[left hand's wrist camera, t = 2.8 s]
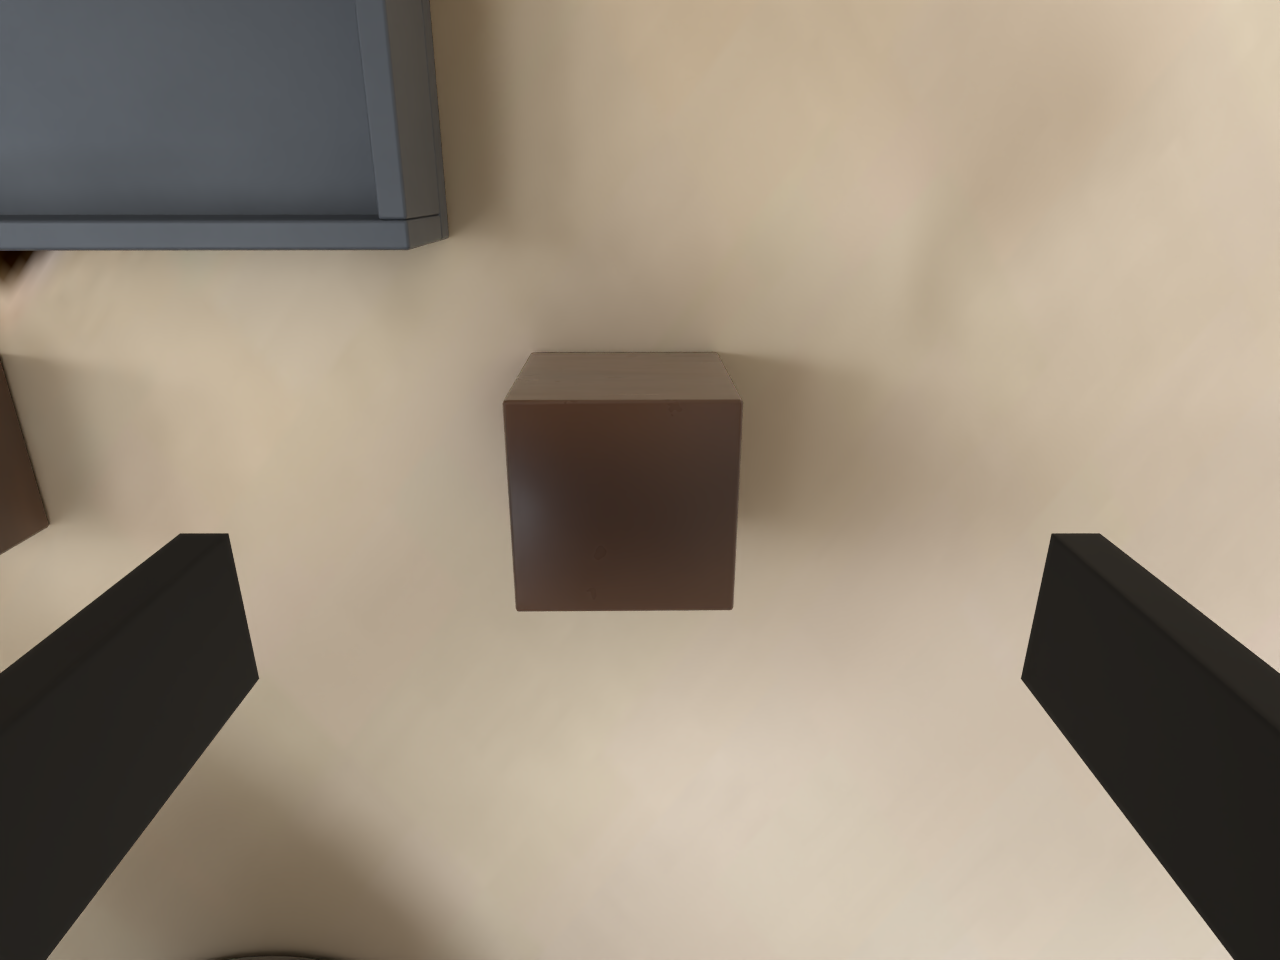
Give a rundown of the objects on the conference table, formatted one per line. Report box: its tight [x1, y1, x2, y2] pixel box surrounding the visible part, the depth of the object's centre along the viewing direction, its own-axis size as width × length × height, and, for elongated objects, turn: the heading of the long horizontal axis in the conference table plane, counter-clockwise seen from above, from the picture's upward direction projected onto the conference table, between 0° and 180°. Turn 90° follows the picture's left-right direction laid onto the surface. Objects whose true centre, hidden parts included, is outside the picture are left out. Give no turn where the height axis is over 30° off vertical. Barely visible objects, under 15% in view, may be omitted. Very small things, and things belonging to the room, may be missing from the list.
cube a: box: [503, 352, 743, 611], centre depth 19 cm, size 5×5×5 cm
